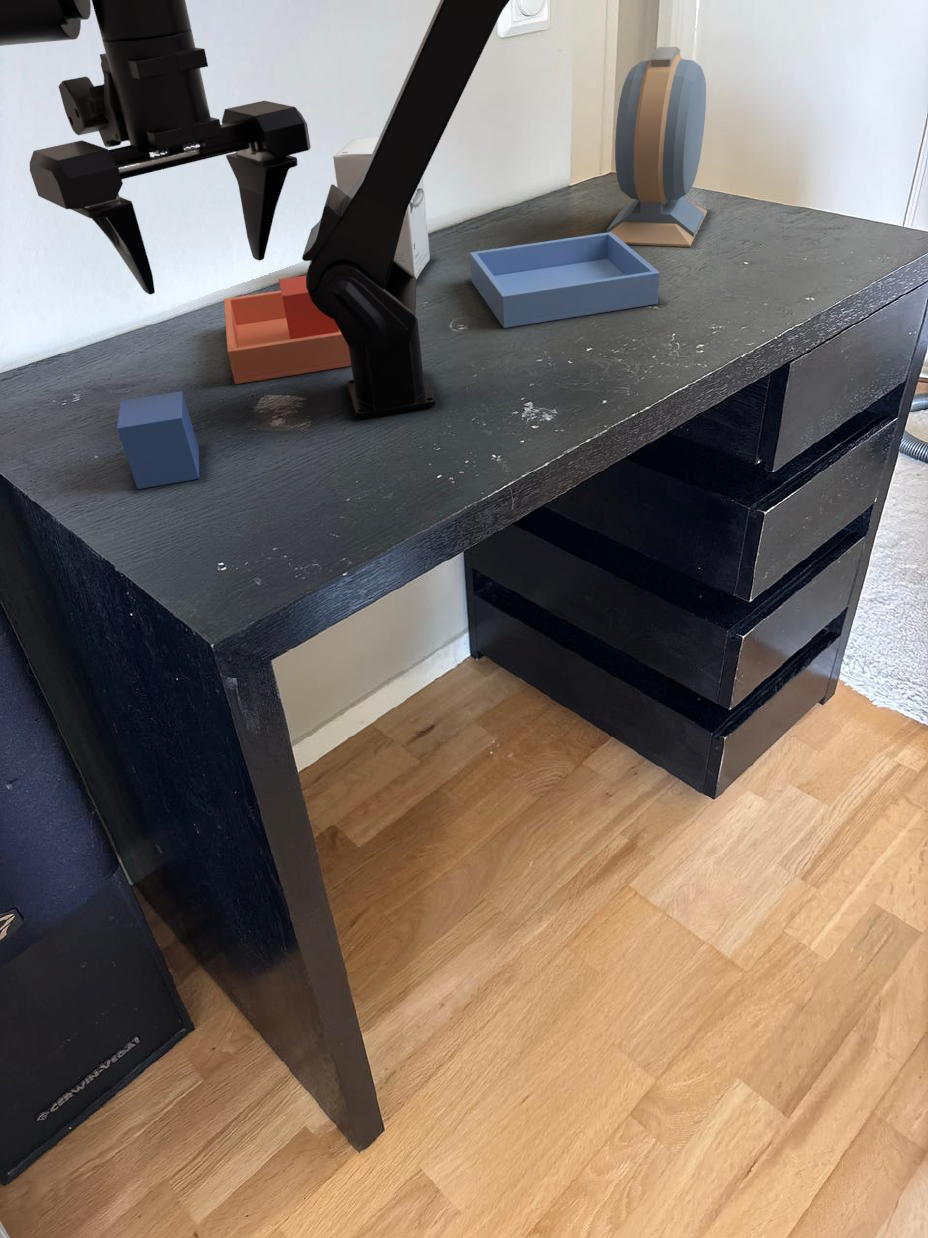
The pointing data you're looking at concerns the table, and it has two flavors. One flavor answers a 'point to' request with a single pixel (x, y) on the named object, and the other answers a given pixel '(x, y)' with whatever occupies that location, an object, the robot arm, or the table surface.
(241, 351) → the red tray
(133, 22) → the robot arm
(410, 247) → the white packaging box
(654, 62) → the blue rounded upright piece
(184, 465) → the blue block
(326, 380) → the table surface
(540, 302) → the blue tray
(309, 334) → the red block
